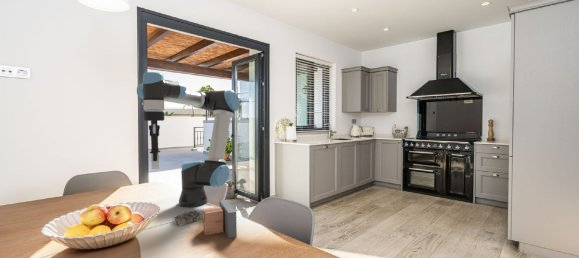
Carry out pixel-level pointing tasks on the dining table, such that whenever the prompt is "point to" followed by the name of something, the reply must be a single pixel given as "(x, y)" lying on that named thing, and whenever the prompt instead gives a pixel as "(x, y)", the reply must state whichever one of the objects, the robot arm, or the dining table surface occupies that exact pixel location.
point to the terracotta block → (212, 220)
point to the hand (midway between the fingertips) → (155, 168)
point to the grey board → (229, 219)
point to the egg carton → (187, 217)
